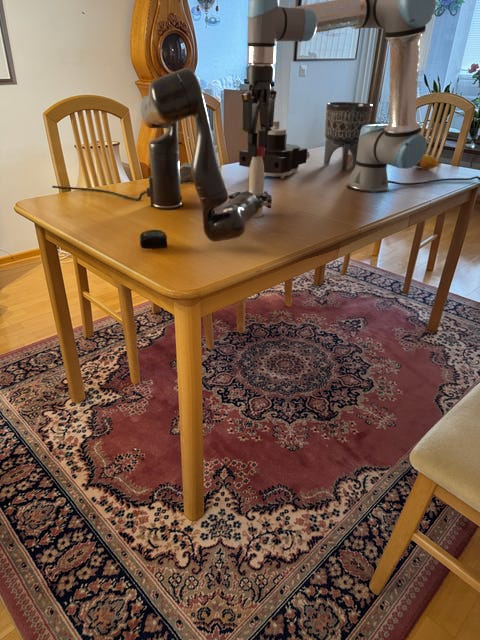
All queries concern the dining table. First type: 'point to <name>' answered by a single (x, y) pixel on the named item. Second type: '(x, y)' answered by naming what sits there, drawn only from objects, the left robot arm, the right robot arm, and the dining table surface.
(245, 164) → the mechanical component
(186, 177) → the rock
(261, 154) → the cap
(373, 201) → the dining table surface
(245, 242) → the dining table surface
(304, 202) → the dining table surface
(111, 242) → the dining table surface
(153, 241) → the tape measure
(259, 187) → the bottle
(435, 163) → the toy
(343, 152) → the planter
